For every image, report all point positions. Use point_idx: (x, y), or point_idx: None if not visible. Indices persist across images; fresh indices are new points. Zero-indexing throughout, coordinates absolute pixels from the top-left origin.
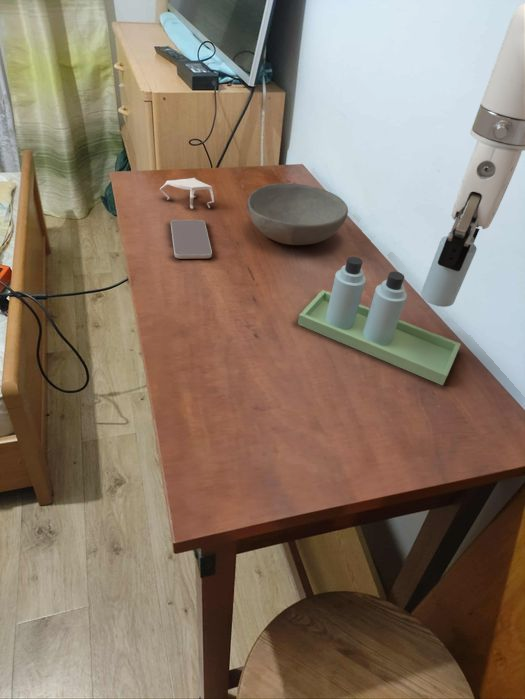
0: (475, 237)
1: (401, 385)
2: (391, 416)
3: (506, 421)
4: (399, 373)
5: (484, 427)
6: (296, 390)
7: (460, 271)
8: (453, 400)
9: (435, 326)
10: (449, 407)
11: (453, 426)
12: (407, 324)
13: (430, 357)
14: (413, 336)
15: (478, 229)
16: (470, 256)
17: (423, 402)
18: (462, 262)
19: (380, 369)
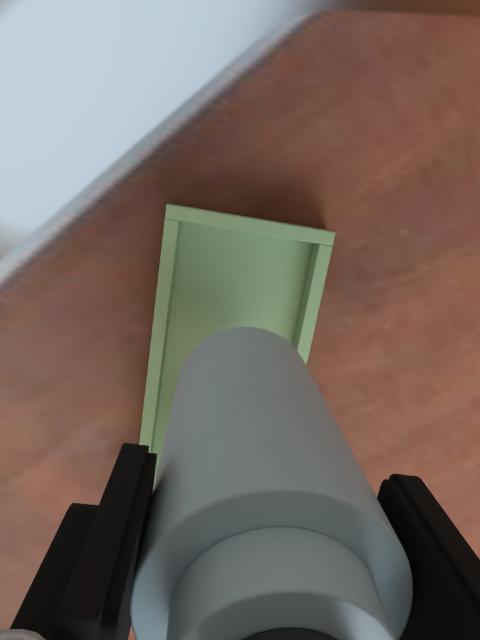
0: (121, 547)
1: (364, 323)
2: (471, 328)
3: (397, 51)
4: (324, 334)
5: (439, 113)
6: (457, 505)
7: (348, 446)
8: (369, 198)
9: (73, 273)
10: (398, 206)
11: (459, 191)
12: (156, 361)
13: (240, 275)
14: (171, 328)
15: (76, 622)
16: (365, 496)
17: (403, 268)
18: (446, 521)
19: (328, 376)
